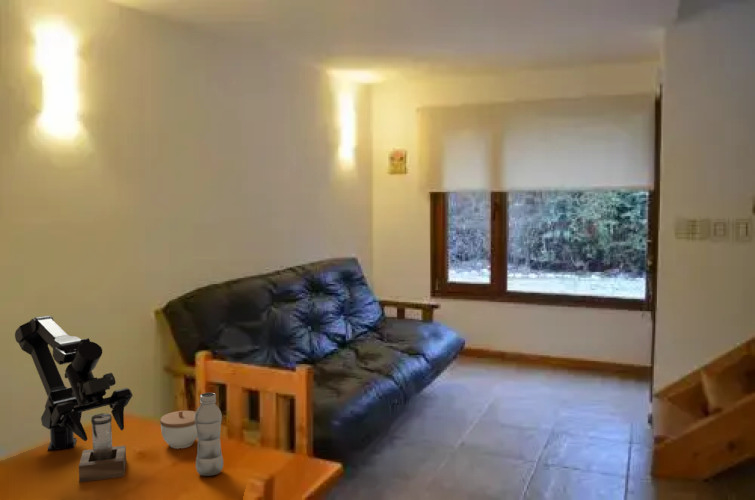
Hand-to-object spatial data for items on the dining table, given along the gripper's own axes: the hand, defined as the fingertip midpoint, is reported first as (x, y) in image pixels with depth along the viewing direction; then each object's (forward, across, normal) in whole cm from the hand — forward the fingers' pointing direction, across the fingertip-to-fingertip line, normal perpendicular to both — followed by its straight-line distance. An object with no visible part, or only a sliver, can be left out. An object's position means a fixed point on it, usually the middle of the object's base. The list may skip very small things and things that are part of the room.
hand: (104, 434), depth 158 cm
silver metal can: (+5, 0, +7) cm, 9 cm away
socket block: (+6, 0, +8) cm, 10 cm away
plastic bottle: (+21, +17, -7) cm, 28 cm away
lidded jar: (+6, +22, +8) cm, 24 cm away
